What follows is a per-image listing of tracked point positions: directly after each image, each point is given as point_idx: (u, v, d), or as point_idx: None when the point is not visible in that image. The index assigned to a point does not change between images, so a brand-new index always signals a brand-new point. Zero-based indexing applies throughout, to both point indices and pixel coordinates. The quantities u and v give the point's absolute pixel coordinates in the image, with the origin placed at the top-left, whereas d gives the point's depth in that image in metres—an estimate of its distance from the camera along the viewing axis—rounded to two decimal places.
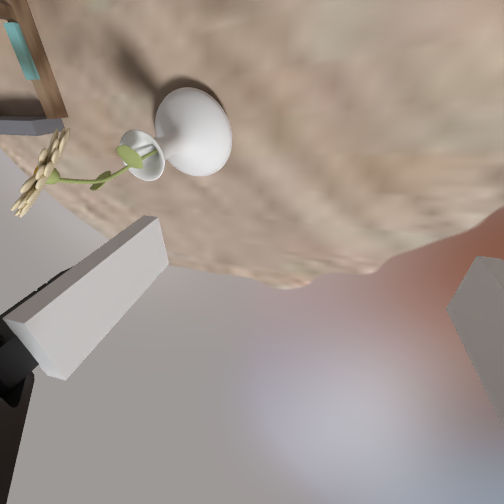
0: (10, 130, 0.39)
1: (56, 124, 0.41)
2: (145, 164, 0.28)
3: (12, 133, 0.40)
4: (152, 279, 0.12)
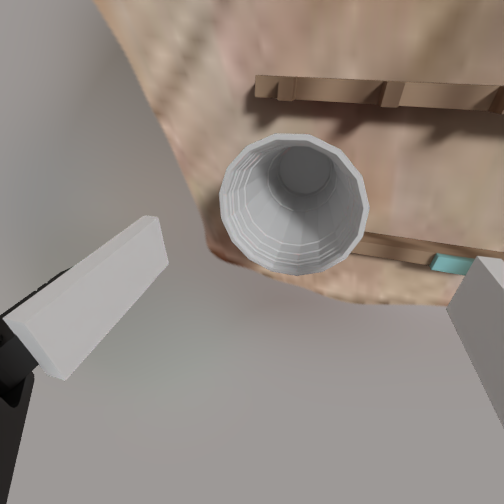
0: None
1: None
2: None
3: None
4: (152, 279, 0.12)
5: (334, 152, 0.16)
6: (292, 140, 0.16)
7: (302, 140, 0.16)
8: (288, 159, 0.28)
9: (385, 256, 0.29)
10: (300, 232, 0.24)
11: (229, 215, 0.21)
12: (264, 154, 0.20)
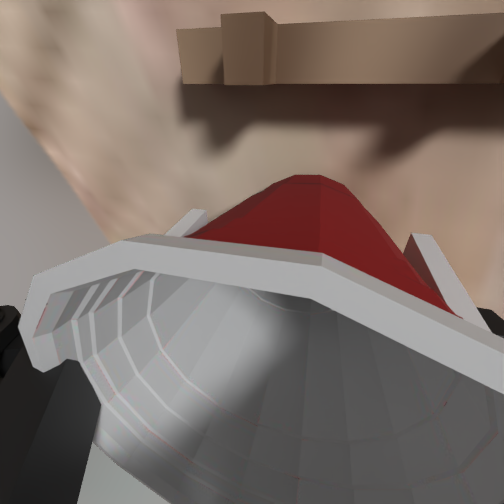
0: None
1: None
2: None
3: None
4: None
5: None
6: (220, 280, 0.03)
7: (278, 290, 0.03)
8: None
9: None
10: (301, 385, 0.11)
11: None
12: None
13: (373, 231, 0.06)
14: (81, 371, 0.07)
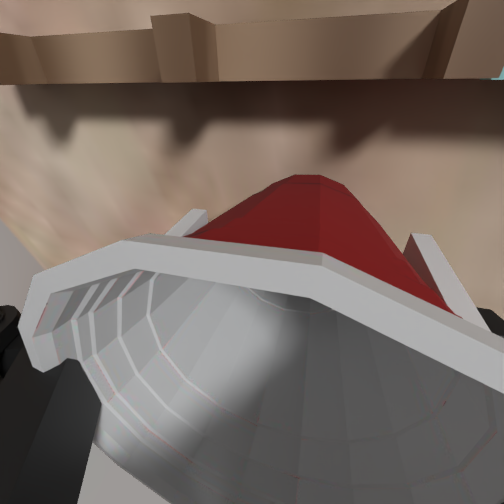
0: None
1: None
2: None
3: None
4: None
5: None
6: (221, 280, 0.03)
7: (278, 290, 0.03)
8: None
9: None
10: (300, 384, 0.11)
11: None
12: None
13: (373, 231, 0.06)
14: (81, 371, 0.07)
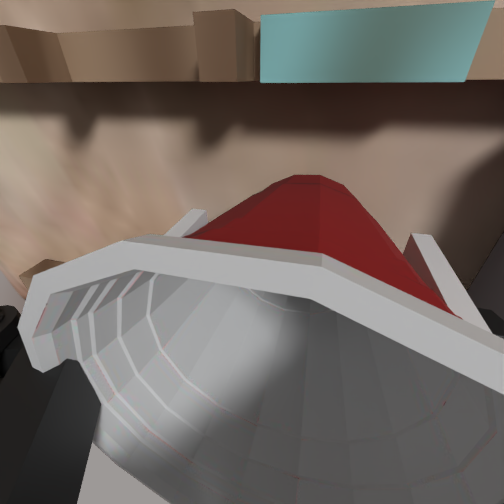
0: None
1: None
2: None
3: None
4: None
5: None
6: (221, 280, 0.03)
7: (278, 290, 0.03)
8: None
9: None
10: (300, 385, 0.11)
11: None
12: None
13: (372, 231, 0.06)
14: (81, 371, 0.07)
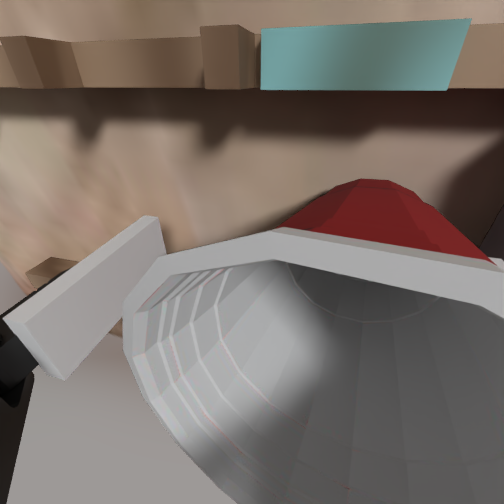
0: None
1: None
2: None
3: None
4: None
5: None
6: (366, 278, 0.03)
7: (436, 293, 0.02)
8: None
9: None
10: (352, 394, 0.10)
11: (165, 387, 0.08)
12: None
13: (468, 243, 0.06)
14: None
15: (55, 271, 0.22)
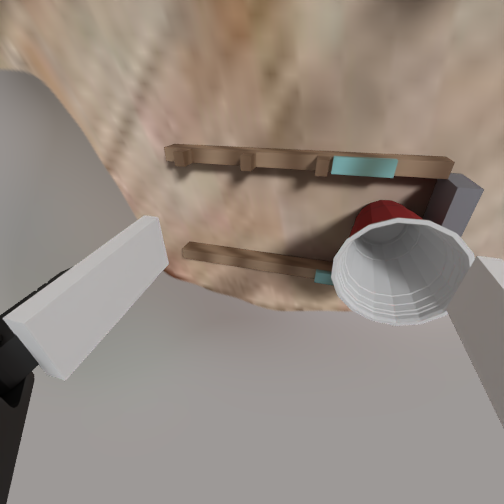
0: None
1: (454, 176, 0.26)
2: None
3: None
4: (152, 279, 0.12)
5: (451, 235, 0.19)
6: (412, 223, 0.20)
7: (422, 224, 0.20)
8: None
9: (282, 272, 0.37)
10: (388, 282, 0.28)
11: (337, 274, 0.24)
12: None
13: None
14: None
15: (197, 248, 0.40)
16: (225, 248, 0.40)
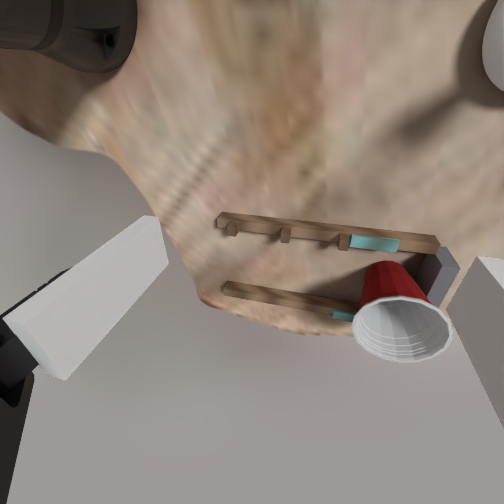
0: (439, 297, 0.35)
1: (440, 250, 0.35)
2: None
3: (443, 296, 0.35)
4: (152, 279, 0.12)
5: (435, 310, 0.29)
6: (410, 301, 0.29)
7: (416, 302, 0.29)
8: None
9: (306, 309, 0.46)
10: (391, 326, 0.37)
11: (355, 325, 0.34)
12: None
13: (418, 289, 0.33)
14: None
15: (235, 287, 0.49)
16: (258, 287, 0.49)
